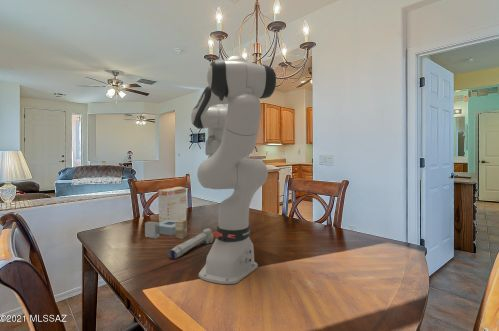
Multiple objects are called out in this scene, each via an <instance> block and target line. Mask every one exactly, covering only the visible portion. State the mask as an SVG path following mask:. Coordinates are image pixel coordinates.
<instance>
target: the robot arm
mask: <svg viewBox="0 0 499 331" xmlns="http://www.w3.org/2000/svg"><path fill="white" fill-rule="evenodd" d="M206 78H207V79H206V80H207V84H208V85H207V86H206V87H205V89H204V90H203V91H202V94H201V95H200V97H199V100H198V101H197V103H196V105H195V106H194V107H193V109H192V111H191V113H190V114H191V115H190V116H191V117H190V118H191V119H190V120H191V124H192V125H193V127H195V128H196V129H197V130H198V129H199V130H201V129H207V139H206V141H205V150H204V151H205V152H204V153H205V156H209V157H208V158H207V159H204V160H203V161H202V162H201V163H200V165H199V166H198V169H197V173H196V174H197V175H196V176H197V180H198V183H199V184H200V186H202V187H203V188H205V189H211V190H233V192H232V194H231V195H230V196H229V197H227V198H226V199H224V200H222V201H221V202H220V204H219V206H218V208H217V210H218V211H217V212H218V214H217V215H218V217H217V218H218V222H217V223H218V225H217V226H216V230H215V231H213V232H212V234H213V238H215V240H214V241H213V243H212V245H211V248H210V250H209V252H208V254H207V255H206V260H205V264H204V266H203V267H202V269H201V270H200V271H199V273H198V278H200V279H201V280H203V281H206V282H209V283H213V284H220V285H221V284H223V285H235V284H237V283H239V282H241V280H243V279H244V278H246V277H247V276H248V275H250V274H251V273H252V272H253V271H255V270H256V269H257V268H258V267H259V265H258V262H256V261H255V250H254V249H255V248H254V243H253V242H252V240H251V238H250V235H251V233H250V232H251V229H250V225H249V218H250V216H249V215H250V204H251V203H252V199H253V197H254V195H255V194H256V192H257V191H258V190H259V189H260V188H261V187H262V186H264V185H265V183H266V181H267V179H268V174H269V172H268V168H267V165H266V163H265V162H264V161H263V160H259V159H255V158H252V157H251V158H247V157H248V156H250V155H251V154H252V153H253V152H254V150H255V147H256V144H257V138H258V133H259V129H260V124H261V115H262V114H261V113H262V112H261V110H262V107H261V106H262V105H261V101H260V99H267V98H270V97H271V96H272V95H273V94H274V92H275V90H276V86H277V74H276V72H275V70H274V68H272V66H269V65H266V64H259V63H254V62H249V61H248V60H247V59H246V58H244V57H243V56H240V55H231V56H229V57H227V58H226V60H225V59H216V60H213V61H212V62H211V63H210V65H209V68H208V70H207V74H206ZM226 105H227V107H226Z"/></svg>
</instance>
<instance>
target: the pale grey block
mask: <svg viewBox="0 0 499 331" xmlns="http://www.w3.org/2000/svg"><path fill="white" fill-rule="evenodd" d="M160 235H161V234H160V232H159V221H146V222H144V236H145V237H144V238H147V237H149V239H158V238H160V237H161V236H160Z"/></svg>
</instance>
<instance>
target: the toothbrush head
mask: <svg viewBox="0 0 499 331" xmlns="http://www.w3.org/2000/svg"><path fill="white" fill-rule="evenodd" d="M212 231H213V230H212V229H211V228H205V229H203V230H202V232H200V233H199V234H197V235H195V236H193V237H191V238H189V239H187V240H186V241H184V242H182V243H180V244H178V245H177V244H176V245H174V247H173V248H172V249H170V250H169V251H168V253H167V254H168V257H169V258H170V259H171V258H172V259H173V260H176V259H178V258H180V257H182V256H183V255H184V254H185V253H187V252H188V251H189V250H191V249H192V248H194V247H196V246H197V245H198V244H200V243H202V244H203V245H209V244H213V243H214V241H215V240H214V237H213V232H212Z"/></svg>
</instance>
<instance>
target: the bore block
mask: <svg viewBox="0 0 499 331" xmlns="http://www.w3.org/2000/svg"><path fill="white" fill-rule="evenodd" d="M175 221H177V220H169V219H167V220H165V221H162V222H160V223H159V232H160V235H165V236H166V235H167V236H172V237H173V236H176V228H175Z"/></svg>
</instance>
